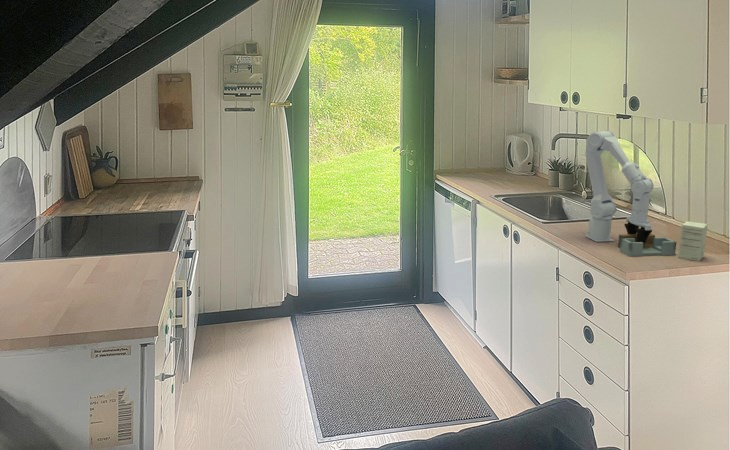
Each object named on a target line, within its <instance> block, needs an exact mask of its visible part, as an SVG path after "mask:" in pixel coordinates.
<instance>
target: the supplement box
mask: <svg viewBox="0 0 730 450" xmlns="http://www.w3.org/2000/svg"><path fill="white" fill-rule="evenodd" d="M708 225H709V224H708V223H702V222H695V221H694V222H693V221H685V222H684V223H683V224H682V225H681V232H680V241H679V249H678V259H679V258H680V259H684V260H689V261H697V262H700V261H701V260H702V259H703V258H704V256H705V248H706V242H707V240H706V239H707V232H708Z"/></svg>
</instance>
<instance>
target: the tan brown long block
mask: <svg viewBox="0 0 730 450" xmlns="http://www.w3.org/2000/svg"><path fill="white" fill-rule="evenodd" d="M624 238H634V239H635V242H638V236H637V234H626V233H625V234H618V243H617V247H618V248H619V249H620V244H621V239H624ZM653 238H656V235H655V234H652V233H650V234H649V236H648V238H647V240H646V242H645V245H644V246H643V248H652V245H653Z"/></svg>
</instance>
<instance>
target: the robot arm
mask: <svg viewBox="0 0 730 450" xmlns="http://www.w3.org/2000/svg"><path fill="white" fill-rule="evenodd" d="M604 151H606V152H609V153H610V154H611V155H612V156H613V158H614V159H615V160H616V161H617V162H618V164H620V166H621V173H622V174H623V176H624V177H625V178H626V180H627V181H628V182H629V184H630V185H631V186H630V190H631V192H632V204H631V213H630V216H626V217H625V218H626V223H624V227H625V229H626V233H627V234H637V236H638V242H642V243H643V246H644V245H645V242H646V240H647V238H648V236H649V234H652V232H653V230H652V225H651V224H650V221H649V220H648V213H649V204H650V203H649V202H650V195H651V192H652V191H653V189H654V182H653V180H652V178H649V177H647V176H646V174H644V173H643V172H642V170H641V169H640V165H639V164H637V163H636V162H632V161H630V159H629V157H628V156H627V154H626V153H625V151H624V150H623V148H622V147H621V145H620V143H619V140H618V138H617V136H615V134H614V132H612V131H611V130H603V131H592V132H591V133H590V134H589V136H588V137H587V138H586V148H585V153H584V154H585V159H586V164H587V169H588V174H589V179H590V185H591V191H592V194H593V197H592V198H591V200H590V209H589V212H590V215H591V216H592V217H590V219H589V221H588V226H587V227H588V229H587V234H585V237H587V238H588V239H590V240H592V241H594V242H595V243H596V242H597V243H600V242H615V239H613V238H611V233H612V221H613V215H615V214H616V211H617V205H616V204H615V202H614V200H613V197H612V196H611V195H610V194H609V193H608V188H607V183H606V179H605V178H606V177H605V173H604V169H603V168H604V167H603V162H602V158H601V156H602V154H603V153H604Z"/></svg>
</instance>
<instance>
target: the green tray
mask: <svg viewBox="0 0 730 450" xmlns="http://www.w3.org/2000/svg"><path fill="white" fill-rule="evenodd" d="M676 248H677V241H676V240H673V239H671V238H668V237H666V236H665V237H663V236H662V237H660V236H659V237H655V238H653V245H652V248H643V243H642V242H635V239H634V238H624V239H621V244H620V248H619V252H620V253H622V254H624V255H626V256H628V257H648V256H649V257H651V256H676V251H677V250H676Z"/></svg>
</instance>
